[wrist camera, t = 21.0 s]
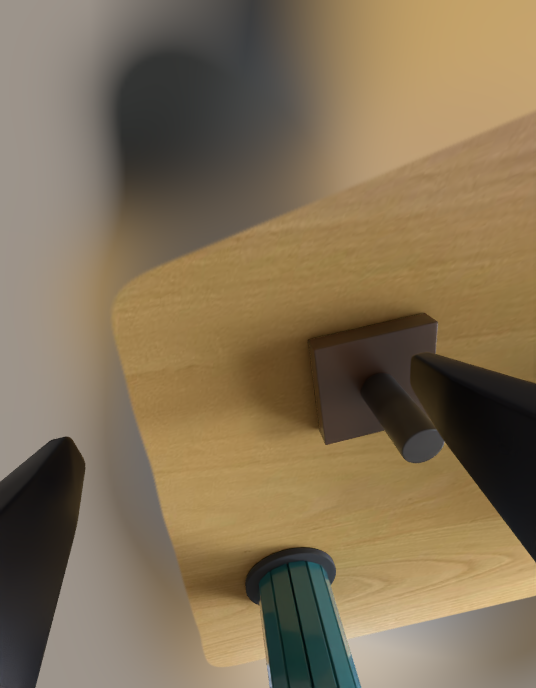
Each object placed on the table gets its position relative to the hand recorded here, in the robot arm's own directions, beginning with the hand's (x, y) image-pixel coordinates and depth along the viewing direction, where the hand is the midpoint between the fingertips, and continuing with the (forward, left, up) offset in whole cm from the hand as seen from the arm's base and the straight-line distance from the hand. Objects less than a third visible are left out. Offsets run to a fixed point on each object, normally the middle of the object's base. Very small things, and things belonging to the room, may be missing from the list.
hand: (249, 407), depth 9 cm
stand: (+12, -3, -12) cm, 17 cm away
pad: (+17, -26, -12) cm, 33 cm away
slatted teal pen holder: (+17, -26, -11) cm, 33 cm away
